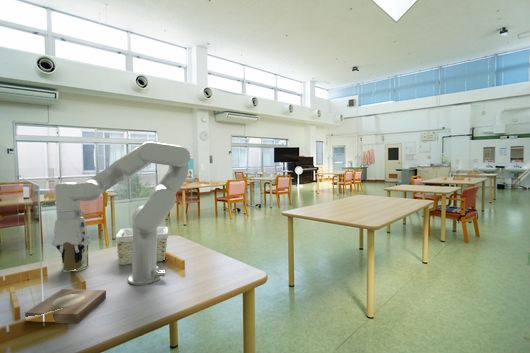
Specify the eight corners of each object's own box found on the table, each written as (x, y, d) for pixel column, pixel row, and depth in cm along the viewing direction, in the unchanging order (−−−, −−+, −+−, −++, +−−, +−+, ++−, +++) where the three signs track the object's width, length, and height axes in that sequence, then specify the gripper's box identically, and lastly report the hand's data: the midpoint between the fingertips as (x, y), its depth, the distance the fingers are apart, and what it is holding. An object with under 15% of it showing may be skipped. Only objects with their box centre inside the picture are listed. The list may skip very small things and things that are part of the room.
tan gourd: (72, 271, 104) (70, 242, 103) (59, 269, 105) (56, 241, 104) (85, 264, 110) (84, 237, 109) (73, 263, 111) (71, 236, 110)
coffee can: (71, 263, 134) (71, 234, 134) (93, 264, 135) (93, 235, 134) (56, 272, 124) (55, 240, 123) (79, 272, 124) (79, 241, 124)
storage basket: (114, 266, 133) (114, 236, 132) (120, 255, 148) (120, 227, 147) (167, 262, 140) (168, 233, 139) (168, 252, 155) (168, 225, 155)
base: (106, 298, 103) (106, 289, 103) (77, 323, 87) (77, 313, 87) (62, 296, 103) (62, 288, 102) (25, 322, 87) (25, 312, 86)
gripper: (97, 212, 110) (100, 257, 111) (54, 213, 110) (57, 258, 111) (85, 216, 102) (88, 265, 104) (38, 217, 102) (42, 266, 104)
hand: (72, 261), depth 107 cm, fingers closed on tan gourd, 4 cm apart
